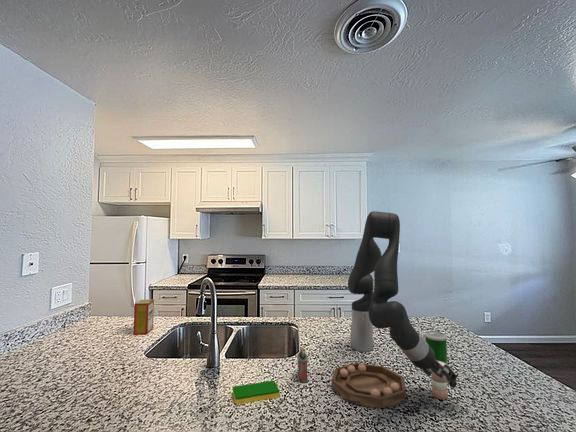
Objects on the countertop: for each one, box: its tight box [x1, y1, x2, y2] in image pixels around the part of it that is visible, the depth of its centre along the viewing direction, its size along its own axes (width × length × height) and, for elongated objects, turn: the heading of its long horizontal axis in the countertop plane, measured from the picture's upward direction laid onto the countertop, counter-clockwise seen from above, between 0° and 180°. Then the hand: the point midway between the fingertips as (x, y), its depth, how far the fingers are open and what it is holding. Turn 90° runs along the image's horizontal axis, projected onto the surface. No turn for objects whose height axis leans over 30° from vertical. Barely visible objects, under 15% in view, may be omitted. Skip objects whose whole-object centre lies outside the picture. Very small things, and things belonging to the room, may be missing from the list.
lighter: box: [297, 346, 309, 385], centre depth 107 cm, size 8×3×10 cm, turn 5°
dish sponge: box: [232, 380, 280, 405], centre depth 96 cm, size 7×14×2 cm, turn 108°
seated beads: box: [340, 363, 400, 397], centre depth 100 cm, size 20×11×3 cm, turn 27°
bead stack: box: [431, 361, 449, 401], centre depth 96 cm, size 4×4×10 cm
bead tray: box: [331, 362, 407, 409], centre depth 100 cm, size 23×23×3 cm
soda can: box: [424, 330, 448, 365], centre depth 119 cm, size 8×8×12 cm
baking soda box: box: [132, 299, 155, 336], centre depth 157 cm, size 10×6×16 cm
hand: (441, 379), depth 96 cm, fingers open, 8 cm apart
